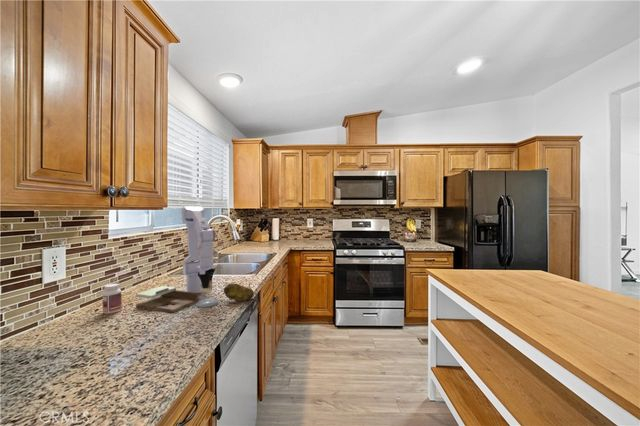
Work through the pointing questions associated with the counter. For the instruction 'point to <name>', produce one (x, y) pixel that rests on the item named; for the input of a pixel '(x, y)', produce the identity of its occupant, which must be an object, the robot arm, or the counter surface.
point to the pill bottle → (112, 299)
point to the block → (206, 288)
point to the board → (170, 301)
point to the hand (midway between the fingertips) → (207, 286)
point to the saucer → (206, 303)
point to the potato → (238, 292)
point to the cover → (156, 292)
